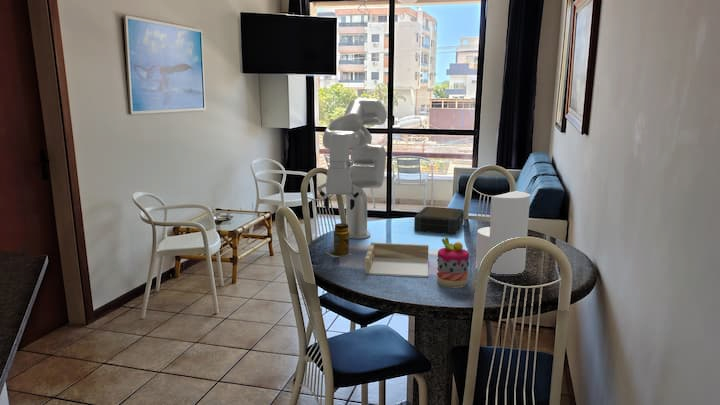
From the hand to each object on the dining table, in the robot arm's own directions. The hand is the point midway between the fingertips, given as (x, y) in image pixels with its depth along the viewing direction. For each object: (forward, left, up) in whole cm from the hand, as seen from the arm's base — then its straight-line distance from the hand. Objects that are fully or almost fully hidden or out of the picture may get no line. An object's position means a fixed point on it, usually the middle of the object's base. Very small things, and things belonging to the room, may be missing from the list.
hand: (339, 208), depth 200 cm
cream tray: (+12, +24, -19) cm, 33 cm away
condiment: (-1, 0, -19) cm, 19 cm away
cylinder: (+9, +61, -19) cm, 64 cm away
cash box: (-52, +41, -19) cm, 69 cm away
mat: (+12, +24, -19) cm, 33 cm away
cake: (+26, +43, -19) cm, 54 cm away
